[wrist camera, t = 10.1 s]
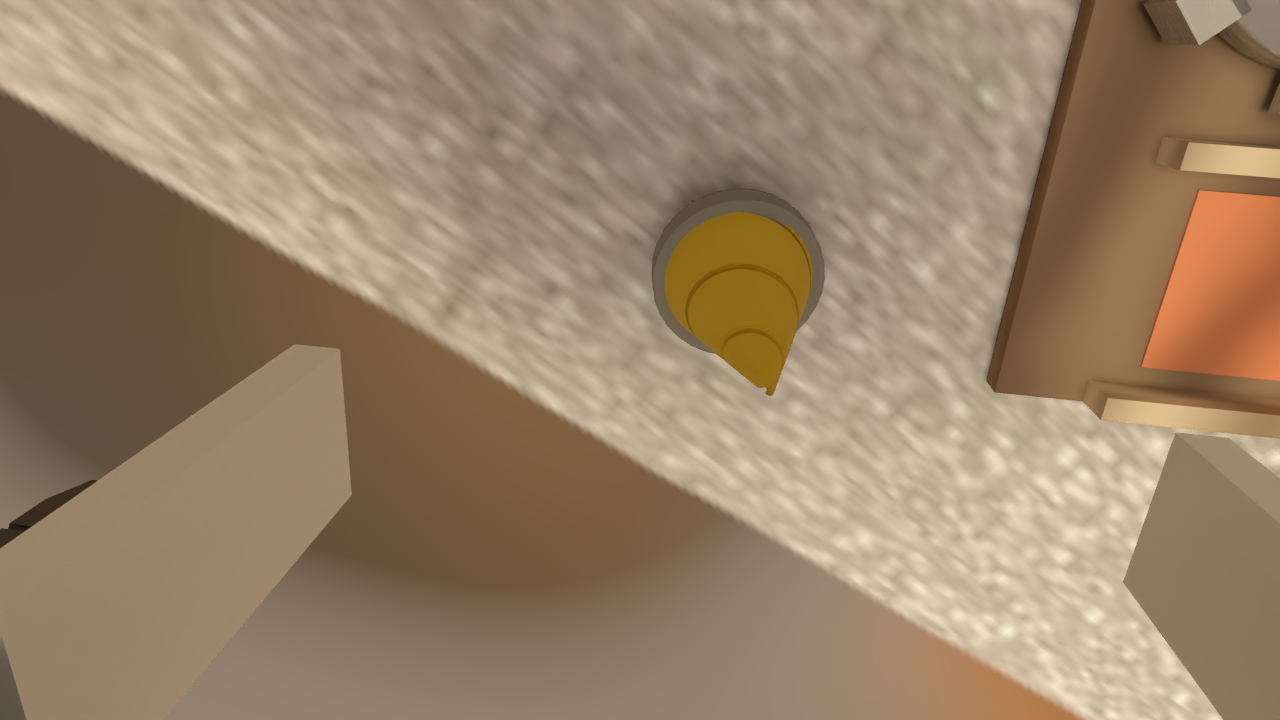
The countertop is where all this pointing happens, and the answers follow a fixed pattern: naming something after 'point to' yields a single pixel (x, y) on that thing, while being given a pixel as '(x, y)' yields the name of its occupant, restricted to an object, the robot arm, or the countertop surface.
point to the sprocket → (1223, 27)
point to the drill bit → (739, 279)
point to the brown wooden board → (1152, 236)
